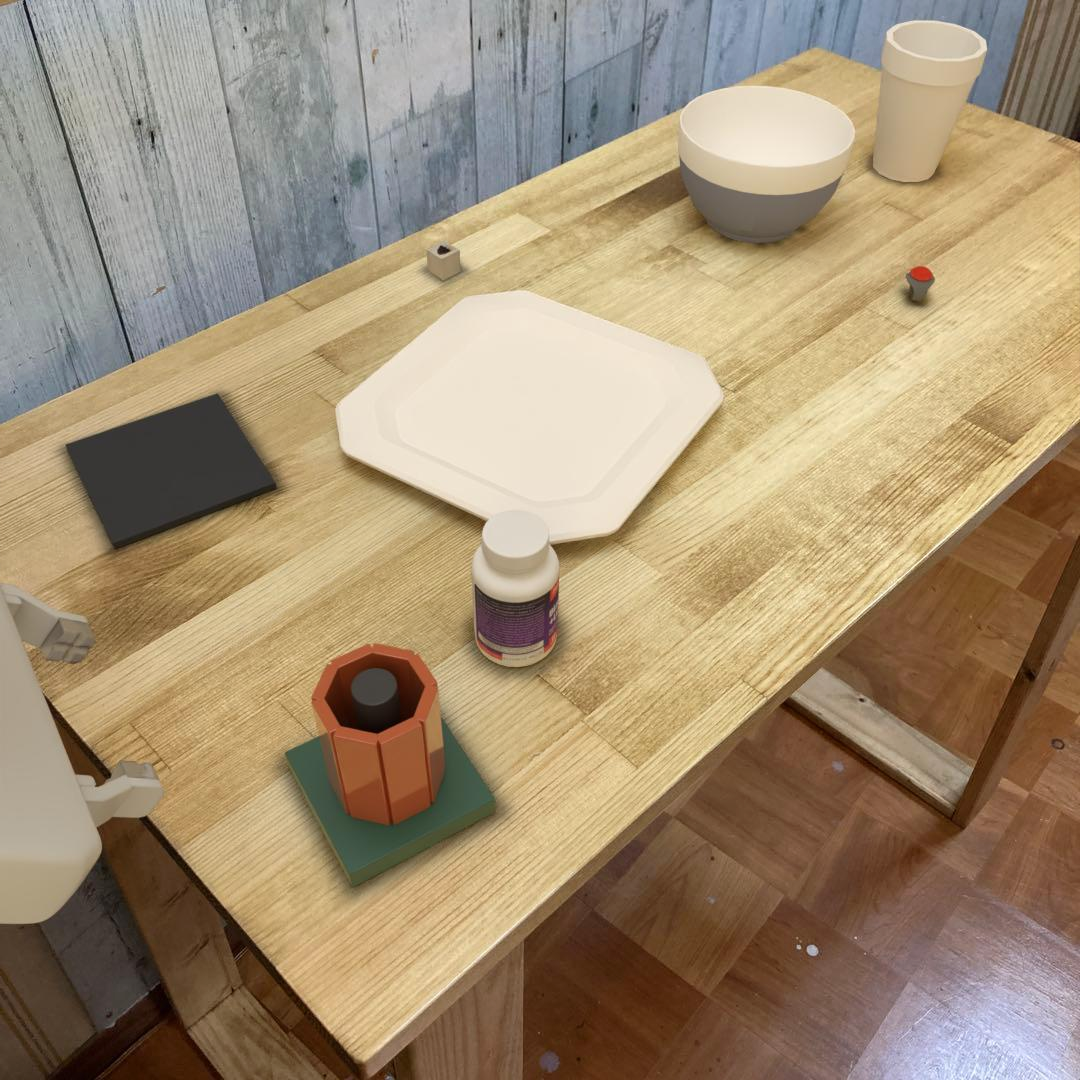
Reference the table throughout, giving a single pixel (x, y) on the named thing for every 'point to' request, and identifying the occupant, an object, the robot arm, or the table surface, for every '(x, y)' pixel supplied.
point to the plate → (531, 413)
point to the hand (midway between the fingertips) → (117, 711)
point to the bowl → (762, 159)
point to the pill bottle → (515, 589)
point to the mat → (168, 469)
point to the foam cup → (922, 94)
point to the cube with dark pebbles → (443, 260)
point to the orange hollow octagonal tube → (381, 738)
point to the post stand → (384, 846)
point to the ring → (919, 282)
